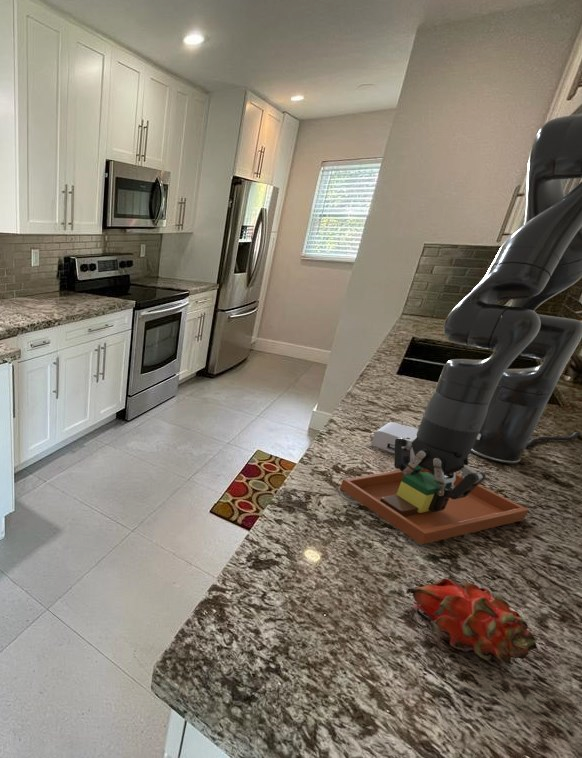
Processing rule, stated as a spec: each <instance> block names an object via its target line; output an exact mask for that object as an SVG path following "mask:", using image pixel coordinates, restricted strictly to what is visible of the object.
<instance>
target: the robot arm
mask: <svg viewBox="0 0 582 758" xmlns="http://www.w3.org/2000/svg"><path fill="white" fill-rule="evenodd" d="M526 174H527V175H526V199H525V201H526V202H525V203H526V205H525V214H524V222H523V224H522V225H521V226H520V227H518V228H517V229H515V231H514V232H512V233H511V234H510V235H509V237H507V239H506V240H505V241H504V242H503V243H502V245H501V247H500V248H499V250H498V251H497V254H496V255H495V258H494V259H493V261H492V262H491V265H490V266H489V268H488V270H487V272H486V274H485V275H484V277H483V278H482V279H481V280H480V281H479V283H478V284H477V285H476V286H475V287H473V289H472V290H471V292H469V293H468V294H467V295H466V296H465V297H463V299H462V300H460V301H459V302H458V304H456V305H455V307H454V308H453V309H452V310H451V311H450V312H449V314H448V315H447V317H446V318H445V320H444V323H443V328H442V330H443V334H444V337H445V338H446V340H448V341H449V342H451V343H453V344H456V345H462V346H466V347H472V348H477V349H482V350H487V351H492V354H490V355H489V357H488V358H484V359H472V358H471V359H470V358H454V359H450V360H448V361H446V362H445V364H444V366H443V368H442V369H441V373H440V376H439V378H438V380H437V384H436V386H435V389H434V391H433V393H432V395H431V396H430V399H429V400H428V402H427V405H426V407H425V410H424V413H423V416H422V418H421V421H420V424H419V426H418V428H417V429H418V432H417V438H416V439H414V440H411V439H410V438H408V437H403V438H398V439H396V440H395V454H394V462H393V463H394V465H393V466H394V468H395V469H396V470H401V471H402V473H403V476H406V475H411V474H417V473H420V472H421V471H422V470H423V469H428V470H429V471H431V472H432V473H433V474H434V481H435V482H436V493H435V494H434V496H433V499H432V501H431V503H430V506H429V508H428V510H430V511H431V512H437V511H441V510H444V509H445V507H446V505H447V503H448V500H449V498H451V499H459V498H463V497H466V496H467V495H468V494H469V493H470V492H471V491H472V490H473V489H474V488H475V487H477V486H478V485H481V483H482V482H483V481H484V480H486V477H487V476H486V474H485V473H484V471H483V472H482V471H476V470H475V469H474V468H472V466H470V465H469V455H470V453H472V454H475V455H477V456H478V457H481V458H484V459H486V460H489V461H493V462H496V463H501V464H508V465H515V464H516V465H517V464H519V463H520V461H521V459H522V456H523V454H524V452H525V450H526V448H527V447H530V446H532V445H533V444H534V443H536V442H538V441H573V440H575V439H576V438H580V437H581V433H580V432H579V431H575V432H573V434H571V435H569V436H537V437H533V438H531V437H532V436H533V434H534V431H535V429H536V427H537V425H538V423H539V421H540V419H541V417H542V415H543V413H544V411H545V409H546V406H547V405H548V402H549V400H550V399H551V396H552V394H553V392H554V390H555V388H556V386H557V384H558V382H559V379H560V378H561V375H562V374H563V372H564V370H565V368H566V366H567V364H568V363H569V360H570V359H571V358H572V355H573V354H574V353H575V350H576V348H577V347H578V345H579V344H580V343H581V340H582V320H580V319H579V320H578V319H574V318H568V317H560V316H554V315H547V314H546V315H545V314H540V313H537V312H536V311H535V310H536V309H538V308H539V307H540V306H541V305H542V304H544V303H545V302H546V301H548V300H550V299H552V298H553V297H555V296H557V295H559V294H560V293H562V292H564V291H565V290H567V289H568V288H570V287H572V286H573V285H575V284H576V283H577V282H578V281H580V280H581V279H582V180H581V181H580V182H579V183H578V184H577V185H576V186H575V187H574V188H573V189H571V191H570V192H568V193H567V194H565V191H564V185H563V180H575V179H582V113H577V114H570V115H564V116H560V117H559V116H558V117H555V118H552V119H550V120H548V121H547V122H545V123H544V124H543V125H541V127H540V128H539V130H538V131H537V133H536V134H535V137H534V139H533V141H532V144H531V147H530V151H529V155H528V162H527V172H526ZM508 300H509V301H510V300H511V304H510V305H505V304H504V305H503V304H497V302H498V303H499V302H501V301H508ZM495 303H496V304H495ZM518 356H521V357H524V358H530V359H535V360H539V361H540V360H541V361H542V363H541V364H540V365H536V366H533V367H525V368H509V367H510V366H511V365H512V363H513V362H514V361H515V360H516V359H517V358H518ZM412 448H413V451H414V454H415V457H414V458H413V459H412V460H410V452H411V449H412ZM460 471H461V472H462V473H461V478H462V479H463V480H462V481H461V482H460V483H459V484H458V485H457V486H456V487H455V488H454V482H455V480H456V473H457V472H460ZM444 475H445V476H444ZM402 479H403V478H402ZM400 484H401V483H400Z"/></svg>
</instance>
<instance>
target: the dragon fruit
mask: <svg viewBox="0 0 582 758" xmlns="http://www.w3.org/2000/svg"><path fill="white" fill-rule="evenodd" d="M405 594H407V595H410V594H412V597H413V598H414V601H415V603H417V604H414V605H413V609H414V611H416V614H417V615H418V616H420V617H421V620H423V621H425V623H427V624H428V625H431V627H430V628H431V632H432V633H434V634H439V635H442V632H446V633H447V634H448V635H449V636H450V641H449V645H450V647H453V648H454V649H456V650H460V651H463V652H469V651H473V653H474V654H476V655H478V657H480V658H482V659H484V660H486V661H489V660H490V659H491V658H492V655H493V656H494V657H495V658H496V659H498V660H499V661H500V662H502V663H503V664H505V665H509V666H513V665H514V663H513V662H512V661H511V659H520V660H524V659H525V658H527V656H529V653H530V652H529V651H533V650H537V649H538V646H537V639H536V638H535V635H534V634H533V633H532V632H531V630H528V629H529V626H528V624H527V622H526V621H525V620H524V619H523V617H522V616H521V615H520V613H519V612H518V611H516V610H511V607H510V604H509V603H508V601H506V600H505V599H504V598H503V597H502V596H501V595H499V594H498V593H492V592H491V593H490V591H489V590H488V588H485V587H479V586H478V585H477V584H475V583H473V582H468V581H461V582H460V583H459V582H457V581H455V580H453V579H450V578H447V577H446V578H442V579H439V580H438V581H436V582H433V583H428V584H425V585H424V584H423V585H420V586H415V587H411V588H406V592H405ZM420 611H422V612H420ZM429 618H430V619H429ZM458 645H465V646H458ZM487 654H488V655H487Z"/></svg>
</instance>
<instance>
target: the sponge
mask: <svg viewBox="0 0 582 758" xmlns="http://www.w3.org/2000/svg"><path fill="white" fill-rule="evenodd" d="M435 493H436V482H435V481H434V475H432V474H430V473H428V472H422V473H417V474H411V475H406V476H403V479H402V481H401V484H400V486H399V489H398V492H397V495H398V496H399V497H401V498H403V499H404V500H406V501H407V502H409V503H411V504H412V505H414V506H416V507H417V508H418V510H417V512H418V513H422V512H427V511H430V510H428V508H429V506H430V503H431V501H432V499H433V496H434V494H435Z"/></svg>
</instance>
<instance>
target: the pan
mask: <svg viewBox="0 0 582 758" xmlns="http://www.w3.org/2000/svg"><path fill="white" fill-rule="evenodd" d="M422 472H428V473H430V474H432V475H434V474H433V473H432V472H431V471H429V470H428V469H423V470H422V471H421V472H420V473H422ZM444 476H445V475H444ZM461 476H462V474H459V473H457V472H456V480H455V482H454V488H455V487H456V486H457V485H458V484H459V483H460V482H461V481H462V480H463V479H462V478H461ZM402 478H403V473H402V471H401V470H400V469H395V470H390V471H384V472H377V473H372V474H365V475H360V476H355V477H349V478H343V479H342V482H341V485H340V487H339V489H340V490H341V491H343V493H345V494H346V495H348V496H350V497H351V498H353V500H355V501H357V502H358V503H359V504H361V505H363V506H364V507H365V508H367V509H369V510H370V511H371V512H373V513H374V514H376V515H377V516H378V517H380V518H382V519H383V520H384V521H386V522H387V523H389V524H390V525H392V526H393V527H394V528H396V529H397V530H398V531H401V532H402V533H403V534H405V535H406V536H408V537H409V538H410V539H412V540H414V541H415V542H416V543H418V544H419V545H425V544H429V543H434V542H438V541H442V540H445V539H451V538H454V537H458V536H463V535H467V534H471V533H476V532H479V531H484V530H488V529H493V528H496V527H499V526H504V525H509V524H512V523H516V522H517V523H518V522H520V521H521V522H522V521H524V520H525V519H526V516H527V515H528V513H529V511H530V509H528V508H526V507H525V506H523V505H520V504H518V503H516V502H514V501H513V500H511V499H509V498H506V497H505V496H502V495H501V494H499V493H497V492H494V491H492V490H490V489H489V488H486V487H485V486H483V485H481V484H479V485H478V486H477V487H475V488H474V489H473V490H472V491H471V492H470V493H469V494H468V495H467V496H466V497H463V498H459V499H451V498H449V500H448V503H447V505H446V507H445V509H444V510H441V511H437V512H431V511H427V512H422V513H418V512H417V513H416V515H412V516H407V517H404V516H402V515H401V514H399V513H398V512H396V511H394V510H393V509H391V508H390V507H388V506H387V505H385V504H384V503H382V502H381V501H380V500H381V498H384V497H389V496H394V495H397V492H398V489H399V486H400V483H401V481H402Z"/></svg>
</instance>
